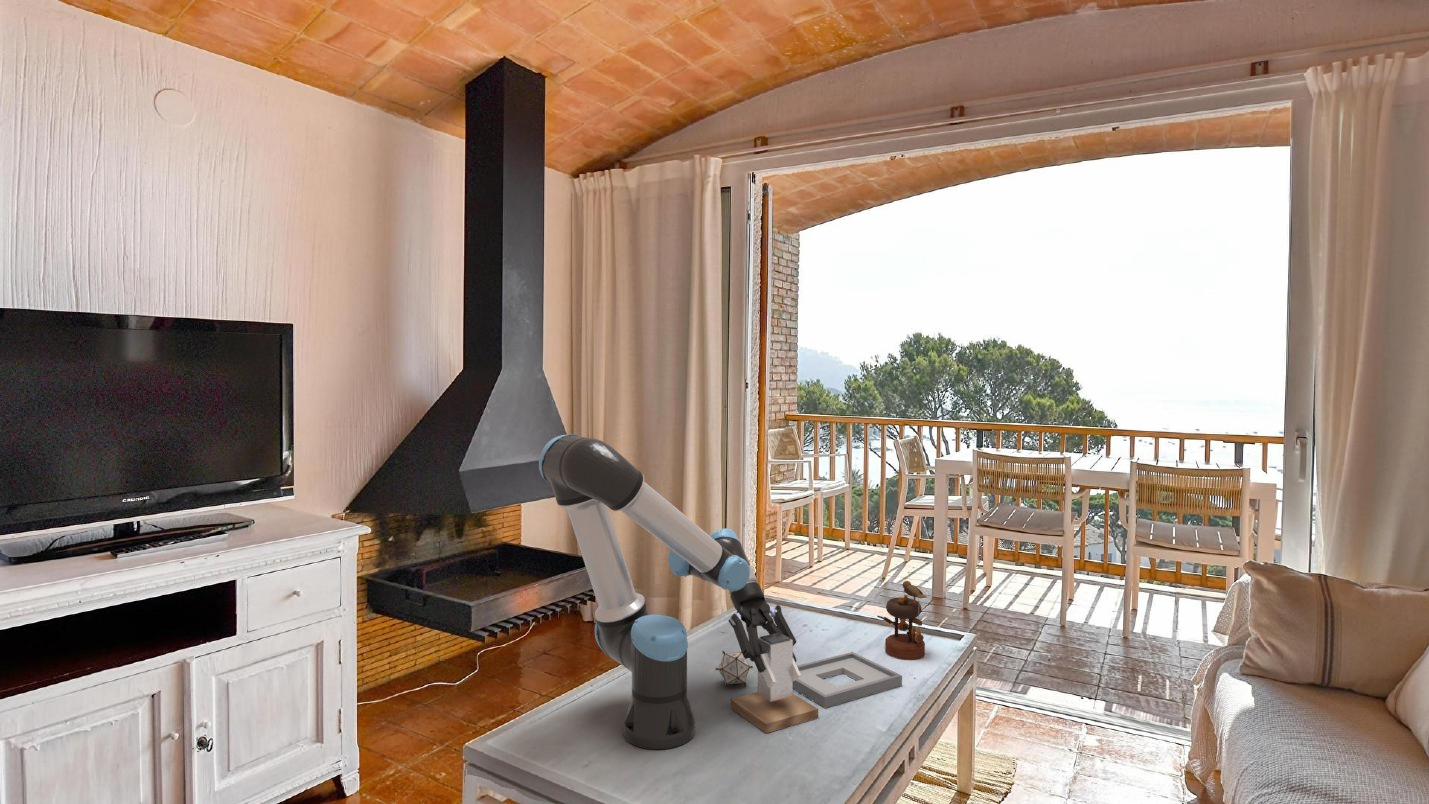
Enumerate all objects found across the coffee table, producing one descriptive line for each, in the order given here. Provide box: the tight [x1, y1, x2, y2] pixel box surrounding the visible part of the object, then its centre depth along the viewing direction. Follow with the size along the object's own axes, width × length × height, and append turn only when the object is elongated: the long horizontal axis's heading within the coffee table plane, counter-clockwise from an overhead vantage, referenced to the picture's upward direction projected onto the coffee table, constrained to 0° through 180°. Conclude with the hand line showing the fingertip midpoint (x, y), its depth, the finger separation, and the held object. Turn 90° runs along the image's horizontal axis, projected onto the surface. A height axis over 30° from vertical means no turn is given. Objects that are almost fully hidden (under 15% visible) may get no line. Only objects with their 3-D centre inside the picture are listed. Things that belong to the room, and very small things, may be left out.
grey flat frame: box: [793, 651, 903, 709], centre depth 185 cm, size 24×18×2 cm
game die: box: [715, 650, 754, 688], centre depth 184 cm, size 9×8×10 cm
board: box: [730, 691, 819, 734], centre depth 169 cm, size 14×14×2 cm
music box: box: [876, 580, 928, 661], centre depth 205 cm, size 15×11×20 cm
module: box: [757, 633, 794, 702], centre depth 168 cm, size 6×5×13 cm
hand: (784, 681), depth 166 cm, fingers closed on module, 6 cm apart
